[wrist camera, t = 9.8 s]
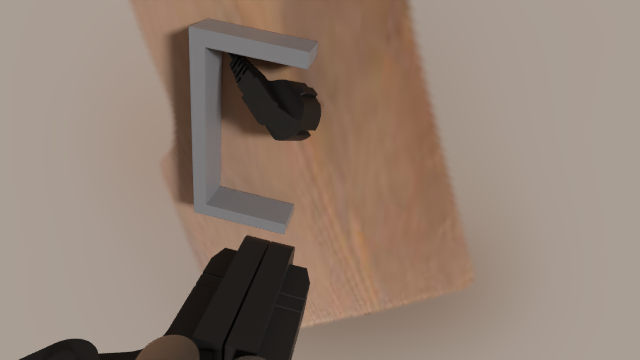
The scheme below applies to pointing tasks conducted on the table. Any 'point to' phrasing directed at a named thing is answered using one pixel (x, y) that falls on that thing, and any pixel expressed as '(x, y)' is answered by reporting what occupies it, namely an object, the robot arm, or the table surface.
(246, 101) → the power plug
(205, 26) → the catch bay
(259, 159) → the table surface
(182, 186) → the table surface
